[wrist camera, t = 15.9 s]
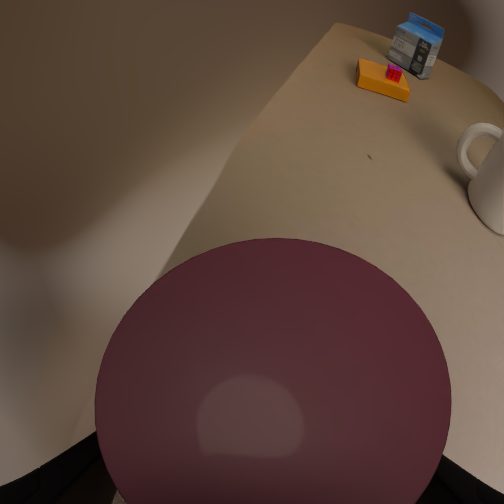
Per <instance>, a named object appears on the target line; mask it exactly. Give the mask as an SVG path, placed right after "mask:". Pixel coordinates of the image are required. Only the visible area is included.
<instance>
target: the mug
mask: <svg viewBox="0 0 504 504" xmlns="http://www.w3.org/2000/svg"><path fill="white" fill-rule="evenodd" d="M478 136H487V137H489V138H491V139H493V140H494V141H495V143H494V145H493V146H492V148H491V149H490V151H489V153H488V154H487V156H486V157H485V159H484V161H483V162H482V164H481V165H480V167H479V168H478V169H476V168H475V167H474V166H473V165H472V164H471V163H470V162H469V160H468V158H467V148H468V146H469V144H470V142H471V141H472V140H473V139H474V138H476V137H478ZM456 155H457V160H458V163H459V165H460V167H461V169H462V170H463V172H464V173H465V174H466V175H467V176H468V177H469V178H470V179H471V181H470V182H469V185H468V196H469V200H470V203H471V205H472V207H473V209H474V211H475V212H476V214H477V215H478V217H479V218H480V219H481V220H482V222H483V223H484V224H485V225H486V226H487V227H489V228H490V229H491V230H493V231H494V232H496V233H498V234H501V235H504V128H503V130H501V129H500V128H498V127H496V126H494V125H492V124H488V123H476V124H473V125H471V126H469V127H468V128H467V129H466V130H465V131H464V132H463V133H462V134H461V136H460V138H459V140H458V143H457V147H456Z"/></svg>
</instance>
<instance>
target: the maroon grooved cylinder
mask: <svg viewBox="0 0 504 504" xmlns="http://www.w3.org/2000/svg"><path fill="white" fill-rule="evenodd" d="M450 417H451V385H450V378H449V373H448V367H447V362H446V359H445V356H444V353H443V350H442V347H441V344H440V342H439V340H438V338H437V335H436V333H435V331H434V329H433V327H432V325H431V324H430V322H429V320H428V319H427V317H426V316H425V314H424V313H423V311H422V310H421V308H420V307H419V306H418V304H417V303H416V302H415V301H414V300H413V299H412V297H411V296H410V295H409V294H408V293H407V292H406V291H405V290H404V289H403V288H402V287H401V286H400V285H399V284H398V283H397V282H396V281H395V280H393V279H392V278H391V277H390V276H388V275H387V274H385V273H384V272H383V271H381V270H380V269H379V268H377V267H376V266H374V265H372V264H370V263H369V262H367V261H365V260H363V259H362V258H360V257H358V256H356V255H353V254H351V253H348V252H346V251H344V250H341V249H339V248H335V247H332V246H328V245H325V244H321V243H317V242H312V241H306V240H300V239H285V238H268V239H253V240H248V241H242V242H236V243H232V244H228V245H225V246H221V247H218V248H214V249H211V250H209V251H207V252H204V253H202V254H200V255H197V256H195V257H193V258H191V259H189V260H187V261H185V262H184V263H182V264H180V265H178V266H177V267H175V268H173V269H172V270H170V271H169V272H168V273H166V274H165V275H164V276H162V277H161V278H160V279H158V280H157V281H156V282H154V283H153V284H152V285H151V286H150V287H149V288H148V289H147V290H146V291H145V292H144V293H143V294H142V295H141V296H140V297H139V298H138V299H137V300H136V301H135V303H134V304H133V305H132V307H131V308H130V309H129V310H128V311H127V313H126V314H125V315H124V317H123V318H122V320H121V322H120V323H119V325H118V327H117V328H116V330H115V332H114V333H113V335H112V337H111V339H110V342H109V344H108V346H107V349H106V351H105V353H104V356H103V359H102V363H101V366H100V370H99V374H98V378H97V385H96V393H95V425H96V431H97V437H98V442H99V447H100V450H101V453H102V456H103V459H104V462H105V465H106V468H107V470H108V472H109V474H110V476H111V478H112V480H113V482H114V484H115V486H116V488H117V490H118V491H119V493H120V494H121V496H122V497H123V498H124V500H125V501H126V503H127V504H415V503H416V502H417V500H418V499H419V497H420V496H421V495H422V493H423V492H424V490H425V489H426V487H427V486H428V484H429V482H430V480H431V478H432V477H433V475H434V473H435V471H436V469H437V467H438V464H439V462H440V459H441V456H442V453H443V451H444V448H445V445H446V440H447V436H448V431H449V426H450Z"/></svg>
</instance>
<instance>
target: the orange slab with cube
mask: <svg viewBox="0 0 504 504" xmlns="http://www.w3.org/2000/svg"><path fill="white" fill-rule="evenodd" d="M356 74H357V87H360V88H364V89H367V90H371V91H374V92H377V93H380V94H383V95H386V96H389V97H392V98H395V99H398V100H401V101H404V102H407V100H408V97H409V94H410V88H409V86H408V83H407V81H406V78H405V76H404V73H403V72H402V70H401V68H400V67H397V66H394V65H391V64H388V67H387V66H384V65H381V64H377V63H374V62H371V61H367V60H364V59H360V58H359V59H358V63H357V67H356Z"/></svg>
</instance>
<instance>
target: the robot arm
mask: <svg viewBox="0 0 504 504" xmlns="http://www.w3.org/2000/svg"><path fill="white" fill-rule="evenodd" d="M116 491H117V488H116V486H115V484H114V482H113V480H112V478H111V476H110V474H109V472H108V470H107V468H106V465H105V462H104V459H103V456H102V453H101V450H100V447H99V442H98V437H97V431H95V432H94V433H92V434H91V435H89V436H88V437H86V438H85V439H83V440H82V441H80V442H79V443H77V444H75V445H74V446H72V447H71V448H69V449H68V450H66V451H65V452H63V453H61V454H60V455H58V456H57V457H55V458H53V459H52V460H50V461H49V462H47V463H45V464H44V465H42V466H40V468H37V469H35V470H33V471H32V472H30V473H28V474H26V475H25V476H23V477H21V478H19V479H16V480H14V481H12V482H10V483H8V484H5V485H2V486H0V504H112V501H113V499H114V496H115V493H116ZM415 504H504V494H502V493H501V492H499V491H497V490H495V489H493V488H491V487H490V486H488V485H487V484H485V483H483V482H482V481H480V480H479V479H477V478H476V477H474V476H473V475H471V474H470V473H468V472H467V471H466V470H464V469H463V468H461V467H460V466H458V465H457V464H455V463H454V462H453V461H451V460H450V459H448V458H447V457H446V456H444V455H443V454H442V456H441V459H440V462H439V464H438V467H437V469H436V471H435V473H434V475H433V477H432V478H431V480H430V482H429V484H428V486H427V487H426V489H425V490H424V492H423V493H422V495H421V496H420V497H419V499H418V500H417V502H416V503H415Z"/></svg>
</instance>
